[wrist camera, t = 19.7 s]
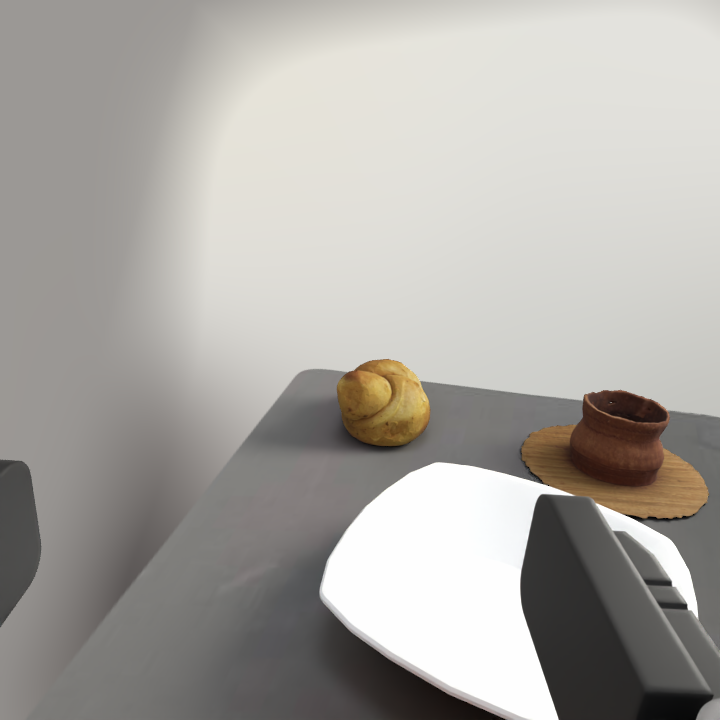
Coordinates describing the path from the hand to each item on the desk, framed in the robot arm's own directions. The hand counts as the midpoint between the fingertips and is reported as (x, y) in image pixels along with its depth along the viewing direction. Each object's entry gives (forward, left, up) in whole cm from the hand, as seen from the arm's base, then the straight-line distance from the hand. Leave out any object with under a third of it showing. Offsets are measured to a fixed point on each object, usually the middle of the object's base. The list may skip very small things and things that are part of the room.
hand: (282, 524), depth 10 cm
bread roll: (+5, +51, -25) cm, 57 cm away
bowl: (+12, +23, -25) cm, 36 cm away
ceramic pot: (+28, +45, -25) cm, 59 cm away
